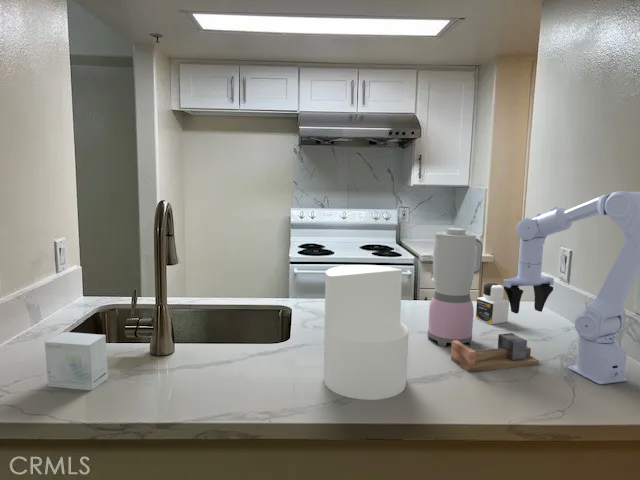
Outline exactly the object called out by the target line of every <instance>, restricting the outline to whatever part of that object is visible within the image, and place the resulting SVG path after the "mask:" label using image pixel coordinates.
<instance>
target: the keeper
mask: <svg viewBox="0 0 640 480" xmlns="http://www.w3.org/2000/svg"><path fill="white" fill-rule="evenodd" d="M527 347H528V340H527V339H524V338H523V337H520V336H519V335H516V334H515V333H512V332H510V333H500V334H499V333H498V338H497V349H498V348H506V349H507V350H509V351H508V358H509V359H511V360H518V359H526V349H527Z"/></svg>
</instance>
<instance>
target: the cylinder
mask: <svg viewBox="0 0 640 480" xmlns="http://www.w3.org/2000/svg"><path fill="white" fill-rule="evenodd" d="M324 279H325V280H324V281H325V282H324V283H325V289H324V299H325V300H324V331H323V332H324V335H323V337H324V339H323V342H324V343H323V347H324V348H323V382H324V384H325V386H326V387H327V388H328V389H329V390H330V391H332V392H333V393H335V394H338V395H339V396H343V397H345V398H350V399H355V400H356V399H357V400H368V401H376V400H385V399H388V398H389V399H390V398H392V397H396V396H398V395H400V394H401V393H402V392H403V391H404V390H405V389H406V387H407V377H408V376H407V373H408V372H407V371H408V370H407V369H408V354H409V352H408V349H409V329H408V326H406V325H405V323H402V322H401V311H402V310H401V309H402V307H401V306H402V287H403V285H402V282H403V269H401V268H396V267H392V266H387V265H386V266H384V265H375V264H349V265H340V266H339V265H338V266H334V267H331V268H328V269H326V270H325V278H324Z"/></svg>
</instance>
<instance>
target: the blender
mask: <svg viewBox="0 0 640 480" xmlns="http://www.w3.org/2000/svg"><path fill="white" fill-rule="evenodd" d="M432 257H433V258H432V273H433V283H434V293H433V297H432V298H431V300H430V303H429V308H428V328H427V339H428V340H435V341H437V343H438V346H441V347H447V343H448V344H452V341H454V340H458V341H459V342H461V343H462V344H465V343H466V344H468V345H471V344H472V340H473V326H474V315H475V314H474V311H475V310H474V304H473V302H472V299H471V295H470V294H471V288H472V285H473V281H474V276H475V274H478V273H479V272H480V270H481V267H482V258H483V243H482V241H481V240H480V239H478V238H477V236H476V234H474V233H471V232H466V229H465V228H459V227H448V228H446V229H445V231H438V232H436V233H435V234H434V245H433V256H432Z"/></svg>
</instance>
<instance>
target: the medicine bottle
mask: <svg viewBox="0 0 640 480" xmlns="http://www.w3.org/2000/svg"><path fill="white" fill-rule="evenodd" d="M504 292H505V290H504V286H503V285H501V284H499V283H493V282H492V283H490V282H489V283H485V284H484V285H483V293H482V295H483V296H482V297H481V296H480V297H477V298H476V309H475V310H476V311H475V318H476V319H477V320H479V321H482V322H484V323H487V324H490V325H495V324H496V325H498V324H502V323H508V321H509V320H508V319H509V308H510V307H509V306H510V302H509V299H504Z"/></svg>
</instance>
